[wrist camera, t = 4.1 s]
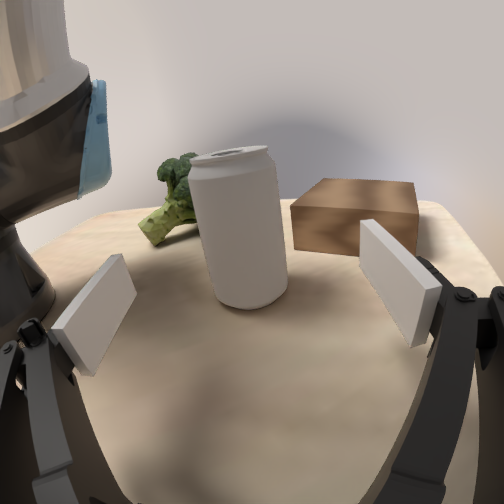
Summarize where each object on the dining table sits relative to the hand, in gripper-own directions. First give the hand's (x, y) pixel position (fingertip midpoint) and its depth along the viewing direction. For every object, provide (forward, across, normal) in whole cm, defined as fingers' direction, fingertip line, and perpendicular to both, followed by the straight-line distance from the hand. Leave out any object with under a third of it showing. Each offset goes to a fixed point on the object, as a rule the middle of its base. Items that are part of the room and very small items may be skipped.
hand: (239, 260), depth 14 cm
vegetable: (+24, -9, -7) cm, 27 cm away
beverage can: (+7, 0, -7) cm, 10 cm away
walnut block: (+17, +13, -7) cm, 22 cm away
